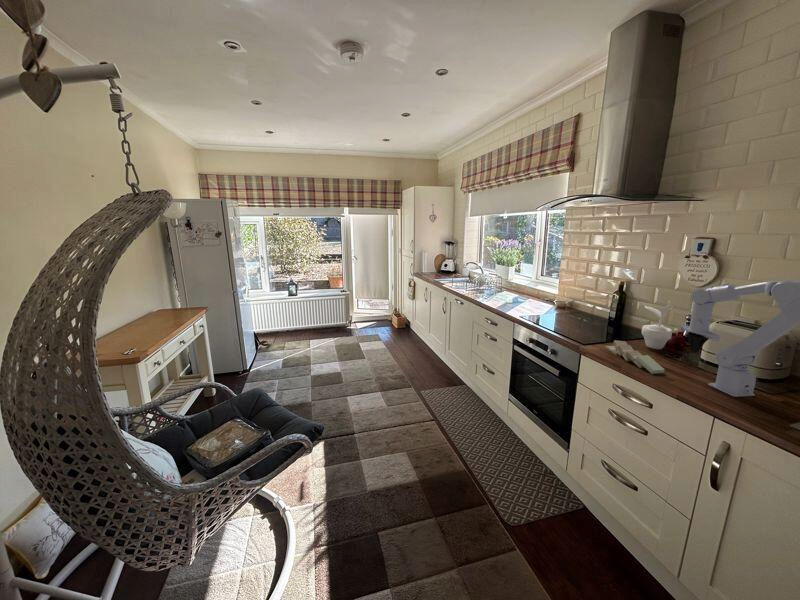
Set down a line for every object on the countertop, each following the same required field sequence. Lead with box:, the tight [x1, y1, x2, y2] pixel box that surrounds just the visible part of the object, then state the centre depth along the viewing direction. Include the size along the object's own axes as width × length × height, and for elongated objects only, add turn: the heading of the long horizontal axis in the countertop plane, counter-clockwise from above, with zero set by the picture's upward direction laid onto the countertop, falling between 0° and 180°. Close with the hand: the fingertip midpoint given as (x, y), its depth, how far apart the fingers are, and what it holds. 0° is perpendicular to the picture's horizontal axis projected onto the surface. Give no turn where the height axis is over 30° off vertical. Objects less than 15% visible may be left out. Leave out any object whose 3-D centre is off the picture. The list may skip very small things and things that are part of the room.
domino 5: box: [636, 354, 666, 375], centre depth 138 cm, size 2×5×9 cm
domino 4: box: [625, 350, 646, 369], centre depth 143 cm, size 2×5×9 cm
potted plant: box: [641, 298, 674, 350], centre depth 161 cm, size 13×12×25 cm
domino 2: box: [612, 339, 628, 357], centre depth 155 cm, size 2×5×9 cm
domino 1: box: [604, 345, 619, 356], centre depth 158 cm, size 2×5×9 cm
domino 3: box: [617, 344, 635, 362], centre depth 150 cm, size 2×5×9 cm
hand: (694, 352), depth 131 cm, fingers closed
